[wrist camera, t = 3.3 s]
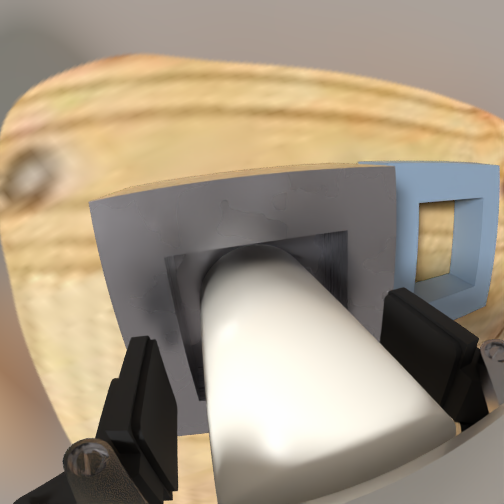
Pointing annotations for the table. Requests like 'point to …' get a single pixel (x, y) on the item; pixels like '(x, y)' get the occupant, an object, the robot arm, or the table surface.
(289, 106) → the table surface
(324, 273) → the upper socket
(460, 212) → the lower socket
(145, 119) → the table surface
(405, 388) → the plug
